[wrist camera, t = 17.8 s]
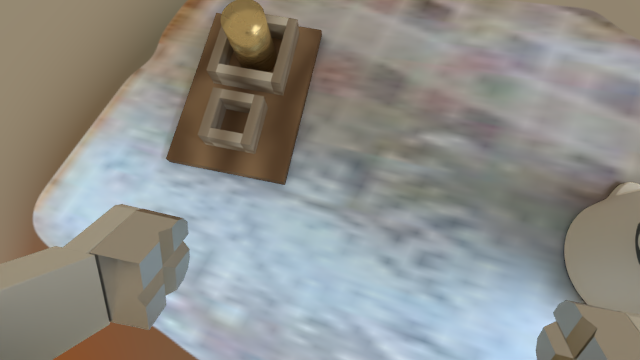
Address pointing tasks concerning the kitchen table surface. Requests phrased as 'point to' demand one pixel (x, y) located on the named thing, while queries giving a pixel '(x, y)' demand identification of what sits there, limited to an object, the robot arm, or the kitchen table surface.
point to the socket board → (247, 105)
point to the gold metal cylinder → (249, 35)
